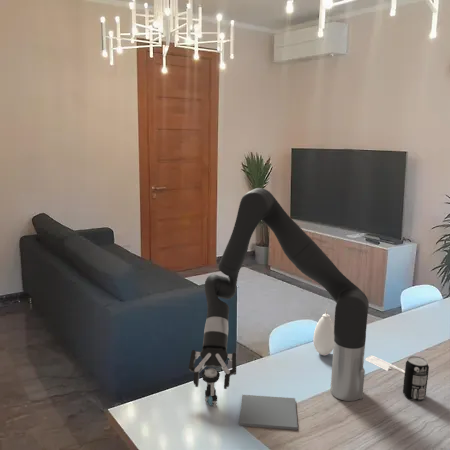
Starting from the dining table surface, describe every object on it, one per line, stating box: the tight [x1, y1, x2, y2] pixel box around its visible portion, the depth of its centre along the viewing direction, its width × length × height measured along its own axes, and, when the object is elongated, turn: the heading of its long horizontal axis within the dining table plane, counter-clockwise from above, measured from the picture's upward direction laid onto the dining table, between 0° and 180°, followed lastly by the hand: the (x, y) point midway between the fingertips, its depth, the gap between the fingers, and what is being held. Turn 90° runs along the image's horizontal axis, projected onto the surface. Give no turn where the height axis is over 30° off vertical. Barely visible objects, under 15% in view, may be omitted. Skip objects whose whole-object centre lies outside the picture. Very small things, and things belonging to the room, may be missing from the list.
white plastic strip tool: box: [364, 354, 405, 375], centre depth 162 cm, size 5×15×1 cm, turn 36°
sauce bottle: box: [312, 307, 334, 356], centre depth 168 cm, size 8×8×18 cm
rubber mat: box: [238, 394, 299, 431], centre depth 135 cm, size 16×14×1 cm
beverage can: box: [402, 355, 430, 402], centre depth 143 cm, size 7×7×12 cm
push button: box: [201, 367, 221, 408], centre depth 138 cm, size 7×5×10 cm
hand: (210, 387), depth 137 cm, fingers open, 8 cm apart
